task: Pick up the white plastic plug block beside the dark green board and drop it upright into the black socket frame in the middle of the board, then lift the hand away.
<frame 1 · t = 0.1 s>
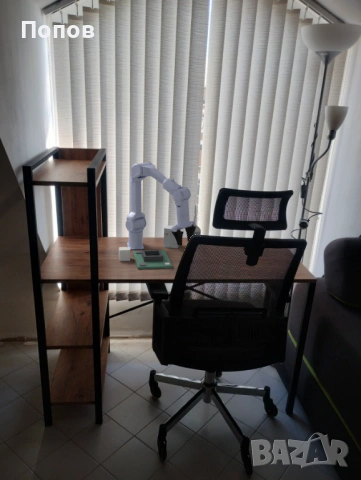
hand: (185, 243, 183), 11 cm above the table, tool pointing down, fingers open, 7 cm apart
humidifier: (192, 253, 201), on the table
small box: (171, 246, 208), on the table
plug block: (124, 259, 188), on the table
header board: (152, 260, 189), on the table
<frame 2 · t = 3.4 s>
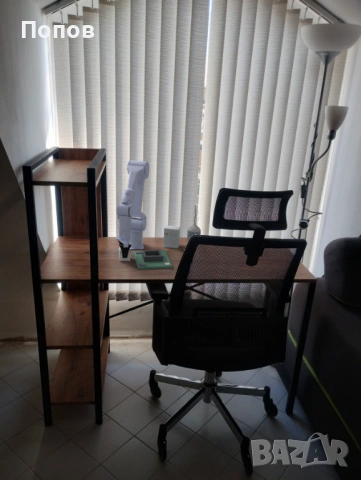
hand: (124, 256, 187), 2 cm above the table, tool pointing down, fingers closed on plug block, 4 cm apart
plug block: (124, 259, 188), on the table, touching gripper
everything else where it was.
when the fingers open (4 cm above the table, at t = 6.9 s): plug block drops 2 cm, resting on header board.
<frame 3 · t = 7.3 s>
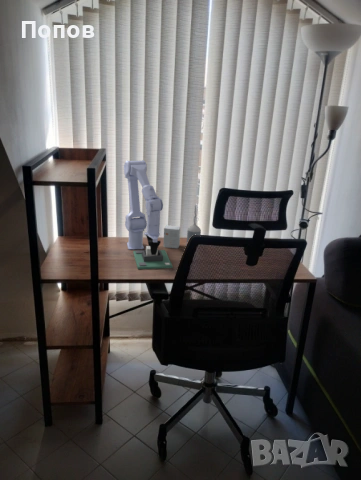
hand: (152, 251, 187), 4 cm above the table, tool pointing down, fingers open, 7 cm apart
plug block: (151, 258, 188), point 1 cm above the table, touching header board
everything else where it was.
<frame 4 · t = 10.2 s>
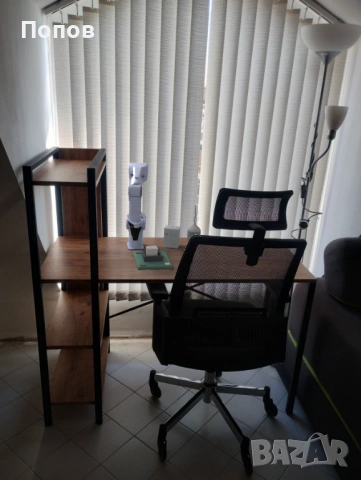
hand: (134, 237, 189), 9 cm above the table, tool pointing down, fingers open, 7 cm apart
nothing on the table moved.
at the end: plug block 0.3 cm off-centre on the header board, point 1.0 cm above the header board's base; plug block tilted 0°; the gripper is holding nothing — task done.
